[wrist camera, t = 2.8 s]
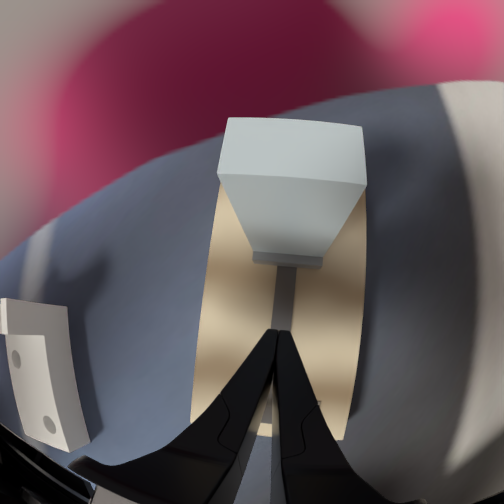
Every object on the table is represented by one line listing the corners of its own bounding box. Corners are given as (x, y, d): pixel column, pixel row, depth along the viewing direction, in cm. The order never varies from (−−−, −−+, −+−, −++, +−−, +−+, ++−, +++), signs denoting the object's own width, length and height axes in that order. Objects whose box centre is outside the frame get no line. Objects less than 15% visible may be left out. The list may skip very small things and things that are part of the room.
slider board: (337, 428, 16) (343, 440, 14) (198, 413, 17) (189, 423, 15) (357, 175, 20) (363, 161, 18) (230, 166, 21) (225, 151, 19)
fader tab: (319, 269, 16) (368, 202, 7) (254, 263, 17) (213, 190, 7) (322, 222, 17) (360, 114, 7) (259, 217, 18) (231, 106, 8)
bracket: (27, 310, 21) (-27, 302, 14) (69, 306, 21) (6, 297, 13) (47, 427, 18) (-3, 442, 11) (92, 441, 17) (39, 467, 10)
